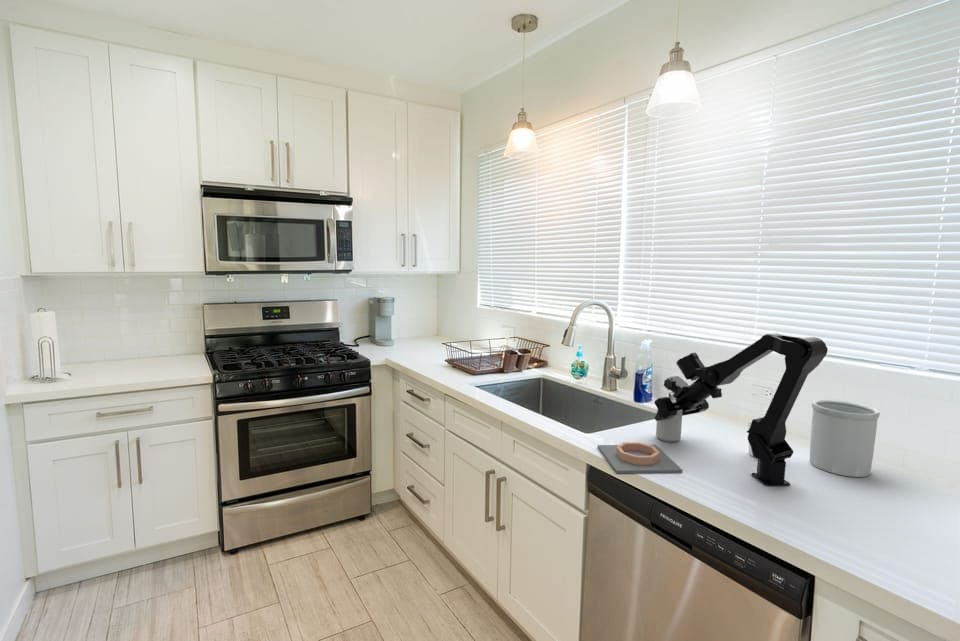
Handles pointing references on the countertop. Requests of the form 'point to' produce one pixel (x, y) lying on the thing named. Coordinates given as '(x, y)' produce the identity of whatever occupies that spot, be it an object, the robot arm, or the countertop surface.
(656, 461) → the seat plate
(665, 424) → the can
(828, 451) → the utensil holder
